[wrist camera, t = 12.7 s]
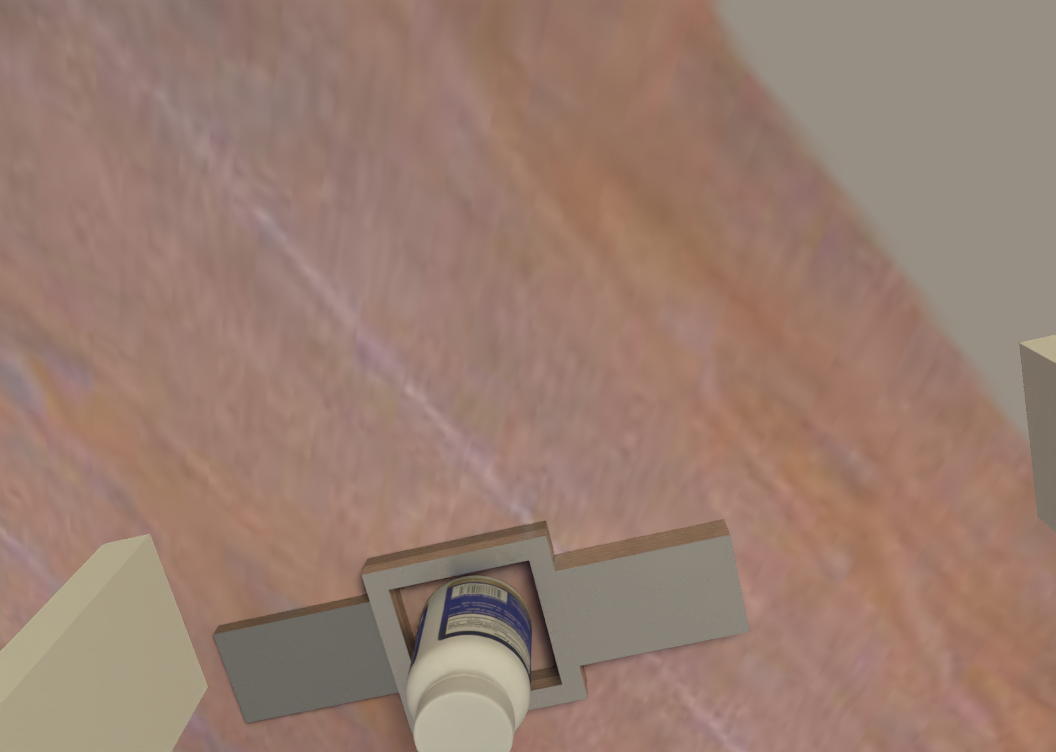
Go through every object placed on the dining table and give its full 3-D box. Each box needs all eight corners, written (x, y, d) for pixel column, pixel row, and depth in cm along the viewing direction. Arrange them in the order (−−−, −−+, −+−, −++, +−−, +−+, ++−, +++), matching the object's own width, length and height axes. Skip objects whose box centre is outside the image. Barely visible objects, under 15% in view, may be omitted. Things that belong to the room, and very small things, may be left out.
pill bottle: (480, 689, 49) (465, 817, 40) (400, 622, 48) (367, 738, 39) (555, 619, 48) (557, 735, 39) (474, 550, 47) (458, 653, 38)
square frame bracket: (262, 743, 50) (252, 764, 48) (206, 593, 48) (195, 610, 46) (749, 646, 48) (756, 665, 46) (716, 484, 45) (722, 498, 44)
